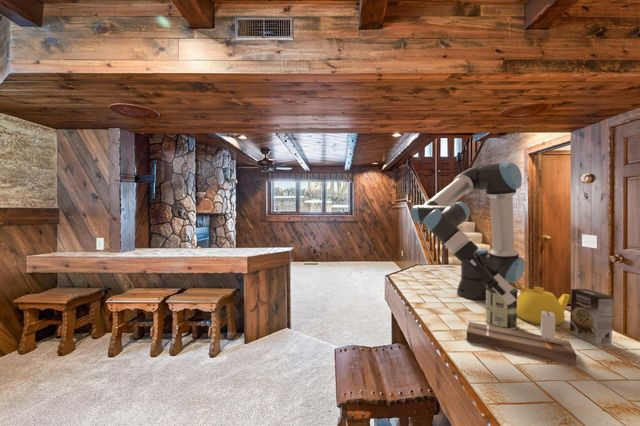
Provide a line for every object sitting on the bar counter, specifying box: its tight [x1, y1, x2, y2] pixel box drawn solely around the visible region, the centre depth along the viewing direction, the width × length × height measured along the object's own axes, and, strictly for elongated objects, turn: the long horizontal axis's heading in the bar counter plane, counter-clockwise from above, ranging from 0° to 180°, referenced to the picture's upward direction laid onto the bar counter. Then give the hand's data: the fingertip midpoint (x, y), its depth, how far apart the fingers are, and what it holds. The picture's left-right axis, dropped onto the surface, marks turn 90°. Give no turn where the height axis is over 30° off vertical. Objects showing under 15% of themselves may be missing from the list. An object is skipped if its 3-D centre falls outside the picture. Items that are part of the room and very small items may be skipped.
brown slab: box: [466, 321, 577, 366], centre depth 94 cm, size 10×28×3 cm, turn 59°
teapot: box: [517, 286, 571, 326], centre depth 118 cm, size 20×19×13 cm
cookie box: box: [569, 288, 615, 346], centre depth 99 cm, size 9×6×16 cm
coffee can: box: [485, 285, 519, 330], centre depth 111 cm, size 10×10×14 cm
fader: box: [540, 311, 556, 342], centre depth 90 cm, size 4×3×9 cm
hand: (511, 296), depth 95 cm, fingers open, 13 cm apart
